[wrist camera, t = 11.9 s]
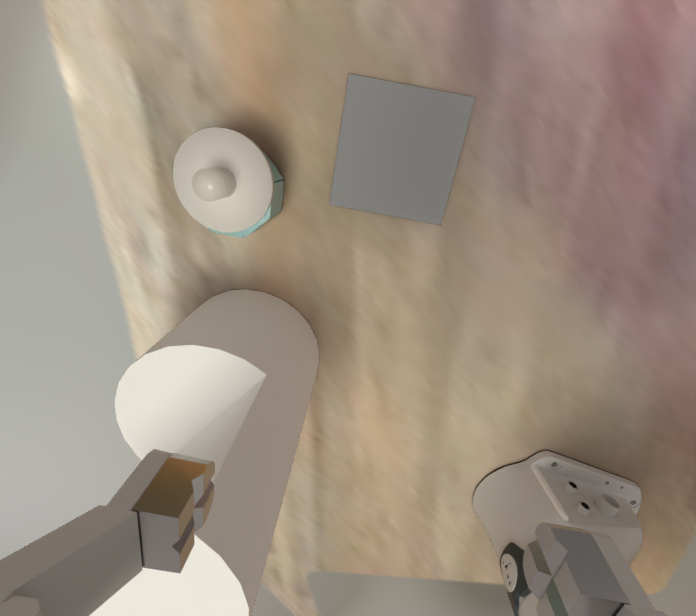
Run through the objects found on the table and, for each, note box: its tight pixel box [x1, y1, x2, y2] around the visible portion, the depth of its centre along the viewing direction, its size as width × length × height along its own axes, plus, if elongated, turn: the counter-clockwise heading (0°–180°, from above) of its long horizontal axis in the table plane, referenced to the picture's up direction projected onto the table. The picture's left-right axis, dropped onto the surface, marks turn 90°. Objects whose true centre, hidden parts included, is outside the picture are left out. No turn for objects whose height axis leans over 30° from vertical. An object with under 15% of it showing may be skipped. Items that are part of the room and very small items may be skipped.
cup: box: [208, 152, 284, 238], centre depth 37 cm, size 8×8×5 cm
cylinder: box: [89, 289, 319, 616], centre depth 34 cm, size 17×17×28 cm
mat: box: [329, 74, 476, 225], centre depth 37 cm, size 12×12×1 cm
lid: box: [173, 127, 274, 233], centre depth 32 cm, size 9×9×4 cm
